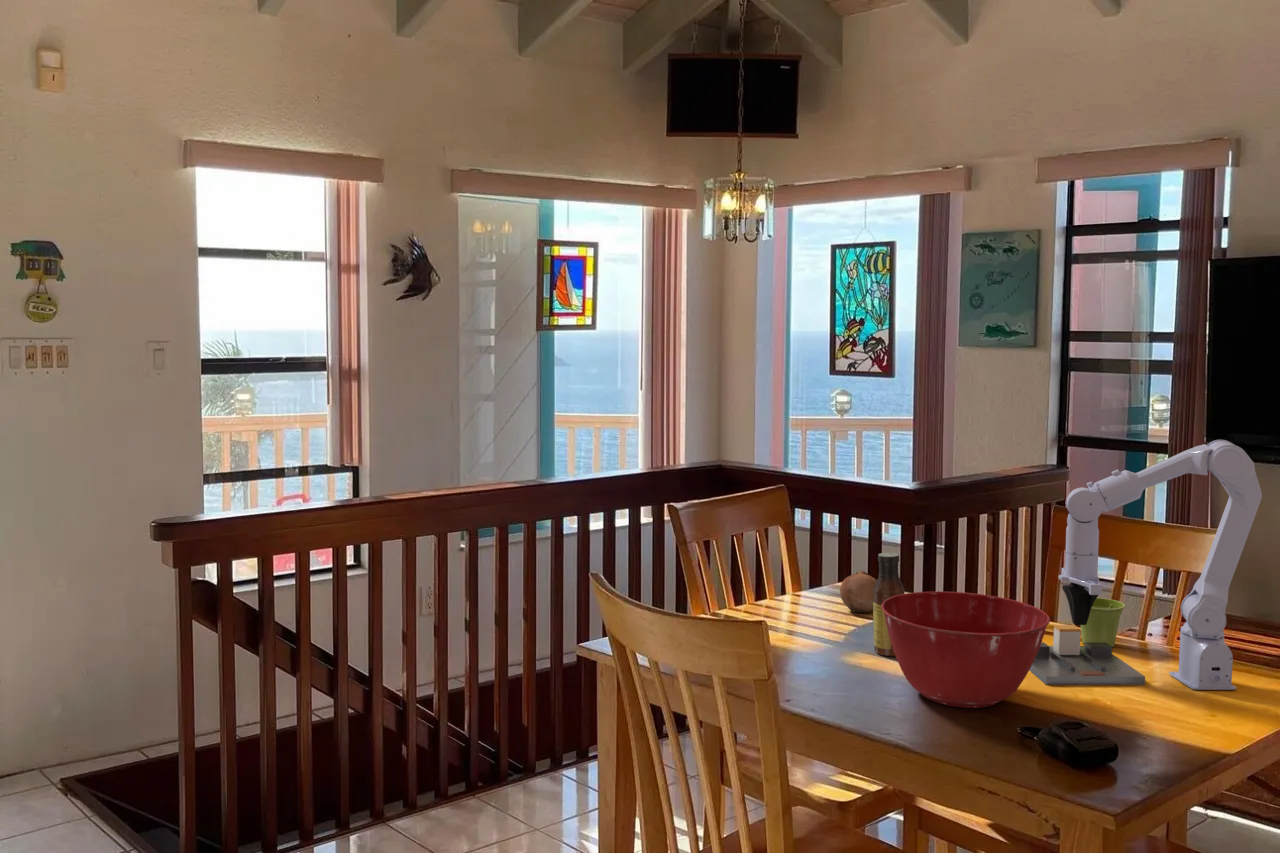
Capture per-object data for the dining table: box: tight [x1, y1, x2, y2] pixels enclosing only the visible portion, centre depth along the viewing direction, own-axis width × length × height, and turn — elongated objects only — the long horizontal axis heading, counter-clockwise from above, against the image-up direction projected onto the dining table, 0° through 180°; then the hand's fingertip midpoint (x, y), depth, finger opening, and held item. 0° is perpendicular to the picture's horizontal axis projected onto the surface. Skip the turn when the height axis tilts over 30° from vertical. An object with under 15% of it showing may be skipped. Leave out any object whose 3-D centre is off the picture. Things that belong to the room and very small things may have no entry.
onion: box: [839, 570, 877, 615], centre depth 263 cm, size 10×9×10 cm
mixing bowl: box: [881, 591, 1051, 709], centre depth 204 cm, size 28×28×15 cm
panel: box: [1029, 641, 1146, 686], centre depth 221 cm, size 20×18×4 cm
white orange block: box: [1052, 624, 1081, 655], centre depth 225 cm, size 3×4×5 cm
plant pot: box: [1079, 597, 1126, 648], centre depth 237 cm, size 9×9×9 cm
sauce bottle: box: [872, 552, 906, 657], centre depth 230 cm, size 7×6×20 cm
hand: (1079, 624), depth 219 cm, fingers closed
